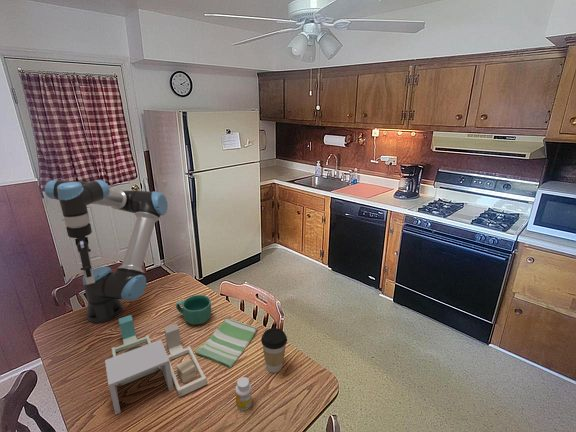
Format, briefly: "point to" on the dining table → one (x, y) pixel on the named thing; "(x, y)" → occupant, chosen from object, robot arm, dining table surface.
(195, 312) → the mug
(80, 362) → the dining table surface
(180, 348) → the open frame with post
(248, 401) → the supplement bottle
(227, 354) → the dish towel
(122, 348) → the frame
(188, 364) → the birch block
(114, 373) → the shelf
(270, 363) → the coffee cup
